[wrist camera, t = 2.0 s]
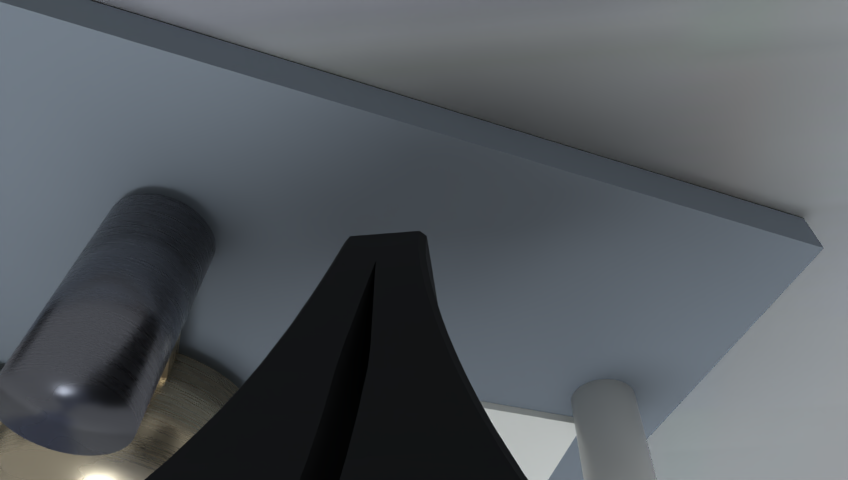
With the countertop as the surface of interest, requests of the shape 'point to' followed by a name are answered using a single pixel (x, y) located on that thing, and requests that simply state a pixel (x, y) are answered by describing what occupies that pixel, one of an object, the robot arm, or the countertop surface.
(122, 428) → the capstan
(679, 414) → the countertop surface
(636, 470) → the white rounded posts
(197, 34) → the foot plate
